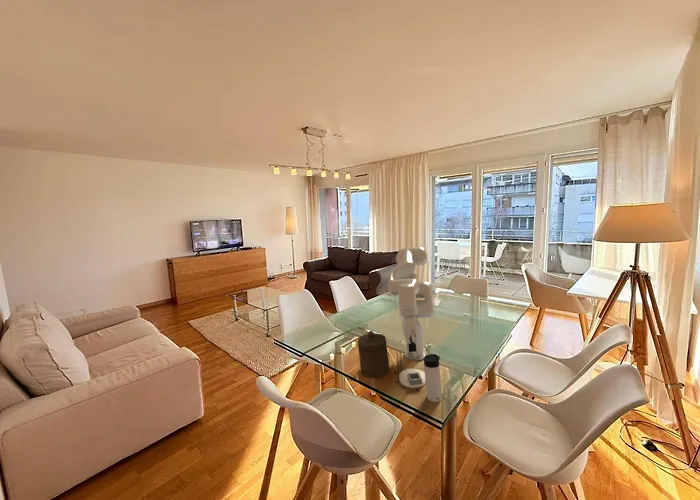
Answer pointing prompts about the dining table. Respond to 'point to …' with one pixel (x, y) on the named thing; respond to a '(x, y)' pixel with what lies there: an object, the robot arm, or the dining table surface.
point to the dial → (412, 378)
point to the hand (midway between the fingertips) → (411, 349)
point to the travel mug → (433, 377)
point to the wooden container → (373, 355)
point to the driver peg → (411, 354)
